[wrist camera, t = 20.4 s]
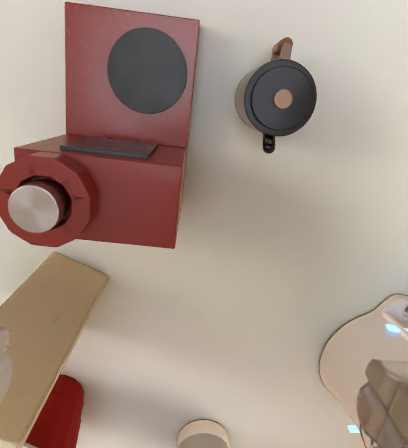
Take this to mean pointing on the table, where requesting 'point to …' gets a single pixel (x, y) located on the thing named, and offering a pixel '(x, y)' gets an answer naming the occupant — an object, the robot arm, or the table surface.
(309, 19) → the table surface
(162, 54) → the warming base
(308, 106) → the kettle
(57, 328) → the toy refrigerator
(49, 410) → the plastic cup
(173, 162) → the coffee maker
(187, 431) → the spray bottle
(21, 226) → the power button
